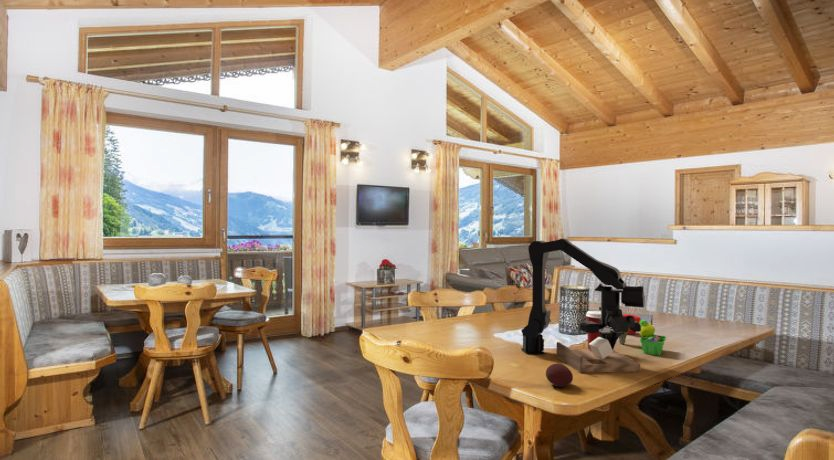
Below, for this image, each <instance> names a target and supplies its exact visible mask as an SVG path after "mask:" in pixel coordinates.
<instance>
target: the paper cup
mask: <svg viewBox="0 0 834 460" xmlns="http://www.w3.org/2000/svg"><path fill="white" fill-rule="evenodd" d="M585 316H586V321H592V322H595V323H597V324H601V323H600V322H599V319H601V310H588V311H587V312H586V314H585ZM605 327H608V326H605ZM586 333H587V332H586ZM598 337H601V335H600V333H598V332H597V333H587V349H591V348H590V346H589V343H591V342H592V341H593V340H595V339H596V338H598ZM601 338H602V337H601Z"/></svg>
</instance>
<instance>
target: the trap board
mask: <svg viewBox="0 0 834 460" xmlns="http://www.w3.org/2000/svg"><path fill="white" fill-rule="evenodd" d="M555 356H556V357H557V359H559V360H560V361H562V362H564V363H565V364H567V365H568V366H569V367H571V368H572V369H574V370H575V371H577V372H578V373H580V374H581V373H588V374H589V373H625V372H626V373H629V372H630V371H633V372H641V363H640V362H637V361H636V360H634V359H632V358H630V357H628V356H626V355H624V354H621V353H620V352H618V351H616V350H614V349H613V352H612V353H611V354H609V355H608V356H607V357H605V358H604V359H601V358H599V357H596V356H594V355H593V353H592V350H591V349H588V348H586V349H585V348H582V349H577V348H576V349H571V348H569V347H568V346H566V345H565V344H563V343H561V342H559V341H556V355H555Z"/></svg>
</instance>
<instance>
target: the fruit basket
mask: <svg viewBox="0 0 834 460" xmlns="http://www.w3.org/2000/svg"><path fill="white" fill-rule="evenodd" d="M640 325H641V331H638V333H639V335H640V336H641V337H640V338H639V340H640V343H641V347H642V351H643V354H644V355H645V354H646V355H651V356H652V355H653V356H660V355H661V353H662V350H663V348H664V346H665V345H664V344H665V341H666V339H667V336H666V335H658V334H656V333H655V332H656V328H655V326H653V325H652V324H650V322H648V321H647V320H646V319H641V320H640Z"/></svg>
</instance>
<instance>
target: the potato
mask: <svg viewBox="0 0 834 460" xmlns="http://www.w3.org/2000/svg"><path fill="white" fill-rule="evenodd" d="M545 370H546V371H545V377H546V379H547V381H548V382H549V384H551V385H553V386H555V387H558V388H564V387H567V386H569V385H570V384H571V383H572V382H573V379H574V376H573V372H572V371H571V370H570V368H568V367H567V366H566V365H564V364H562V363H559V362H558V363H552V364H550V365H549V366H548V367H547V368H546V369H545Z"/></svg>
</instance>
